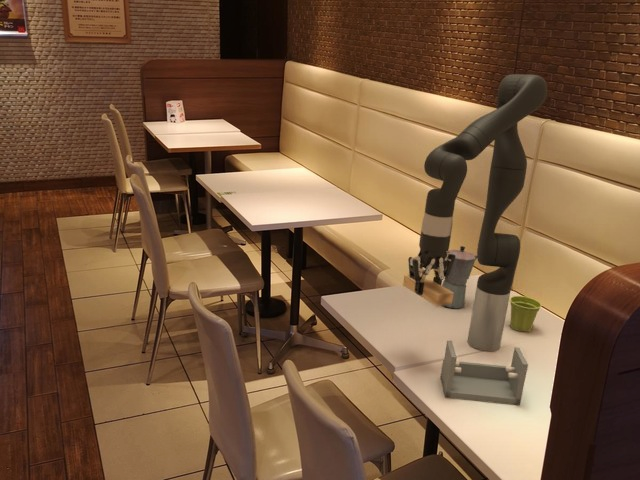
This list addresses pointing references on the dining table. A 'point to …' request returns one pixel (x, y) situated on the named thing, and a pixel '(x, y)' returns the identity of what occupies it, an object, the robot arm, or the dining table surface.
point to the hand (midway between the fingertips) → (427, 292)
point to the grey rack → (483, 378)
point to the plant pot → (523, 312)
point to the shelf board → (431, 291)
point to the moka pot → (459, 276)
